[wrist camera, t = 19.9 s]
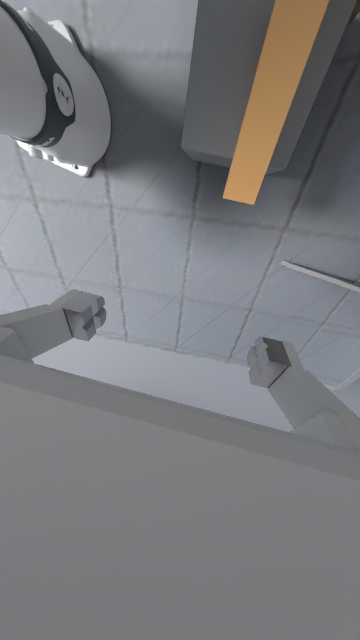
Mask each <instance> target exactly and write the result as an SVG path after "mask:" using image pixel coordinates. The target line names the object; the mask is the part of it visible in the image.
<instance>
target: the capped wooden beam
mask: <svg viewBox="0 0 360 640" xmlns="http://www.w3.org/2000/svg"><path fill="white" fill-rule="evenodd" d="M328 2H329V0H275V2H274V5H273V9H272V13H271V17H270V20H269V24H268V28H267V32H266V35H265V39H264V43H263V47H262V50H261V54H260V58H259V62H258V65H257V69H256V73H255V77H254V81H253V84H252V88H251V92H250V96H249V99H248V103H247V107H246V111H245V114H244V118H243V122H242V126H241V129H240V133H239V137H238V141H237V144H236V148H235V152H234V156H233V160H232V163H231V167H230V171H229V175H228V178H227V182H226V186H225V190H224V193H223V198H224V199H229V200H233V201H238V202H242V203H247V204H251V205H254V203H255V200H256V198H257V195H258V192H259V189H260V187H261V184H262V181H263V179H264V176H265V173H266V170H267V168H268V165H269V162H270V160H271V157H272V154H273V151H274V149H275V146H276V143H277V141H278V138H279V135H280V132H281V130H282V127H283V124H284V122H285V119H286V116H287V114H288V111H289V108H290V105H291V103H292V100H293V97H294V95H295V92H296V89H297V86H298V84H299V81H300V78H301V76H302V73H303V70H304V67H305V65H306V62H307V59H308V57H309V54H310V51H311V48H312V46H313V43H314V40H315V38H316V35H317V32H318V29H319V27H320V24H321V21H322V19H323V16H324V13H325V11H326V8H327V5H328Z"/></svg>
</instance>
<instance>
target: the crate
mask: <svg viewBox="0 0 360 640" xmlns="http://www.w3.org/2000/svg"><path fill="white" fill-rule="evenodd" d="M274 2H275V0H198V8H197V16H196V25H195V33H194V41H193V50H192V58H191V66H190V74H189V83H188V91H187V99H186V108H185V116H184V124H183V132H182V141H181V149H182V150H183V151H184V152H185V153H186V154H188V155H189V156H190V157H191V158H192V159H193V160H194V161H197V162H202V163H207V164H212V165H216V166H221V167H226V168H230V167H231V163H232V160H233V156H234V152H235V148H236V144H237V141H238V137H239V133H240V129H241V126H242V122H243V118H244V114H245V111H246V107H247V103H248V99H249V96H250V92H251V88H252V84H253V81H254V77H255V73H256V69H257V65H258V62H259V58H260V54H261V50H262V47H263V43H264V39H265V35H266V32H267V28H268V24H269V20H270V17H271V13H272V9H273V5H274ZM356 2H357V0H329V2H328V5H327V8H326V11H325V13H324V16H323V19H322V21H321V24H320V27H319V29H318V32H317V35H316V38H315V40H314V43H313V46H312V48H311V51H310V54H309V57H308V59H307V62H306V65H305V67H304V70H303V73H302V76H301V78H300V81H299V84H298V86H297V89H296V92H295V95H294V97H293V100H292V103H291V105H290V108H289V111H288V114H287V116H286V119H285V122H284V124H283V127H282V130H281V132H280V135H279V138H278V141H277V143H276V146H275V149H274V151H273V154H272V157H271V160H270V162H269V165H268V168H267V170H266V173H265V175H268V174H272V173H276V172H279V171H283V170H286V168H287V166H288V163H289V161H290V158H291V156H292V154H293V151H294V149H295V147H296V144H297V142H298V139H299V137H300V135H301V132H302V130H303V128H304V125H305V123H306V120H307V118H308V116H309V113H310V111H311V109H312V106H313V104H314V101H315V99H316V97H317V94H318V92H319V90H320V87H321V85H322V82H323V80H324V78H325V75H326V73H327V71H328V68H329V66H330V63H331V61H332V59H333V56H334V54H335V52H336V49H337V47H338V44H339V42H340V40H341V37H342V35H343V32H344V30H345V28H346V25H347V23H348V21H349V18H350V16H351V13H352V11H353V9H354V6H355V4H356Z"/></svg>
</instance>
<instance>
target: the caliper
mask: <svg viewBox="0 0 360 640" xmlns="http://www.w3.org/2000/svg"><path fill="white" fill-rule="evenodd" d="M281 265H284V266H286V267H288V268H291V269H294V270H297V271H300V272H303V273H306V274H308V275H311V276H314V277H317V278H320V279H323V280H326V281H329V282H332V283H335V284H338V285H340V286H342V287H345V288H348V289H351V290H354V291H356V292H359V293H360V284H359V283H357V282H356V281H354V282H353V283H352V282H349V281H347V280H344V279H341V278H336V277H333V276H330V275H327V274H324V273H321V272H318V271H315V270H312V269H309V268H306V267H303V266H300V265H297V264H294V263H291V262H287V261H284V260H283V261H282V262H281Z"/></svg>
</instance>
